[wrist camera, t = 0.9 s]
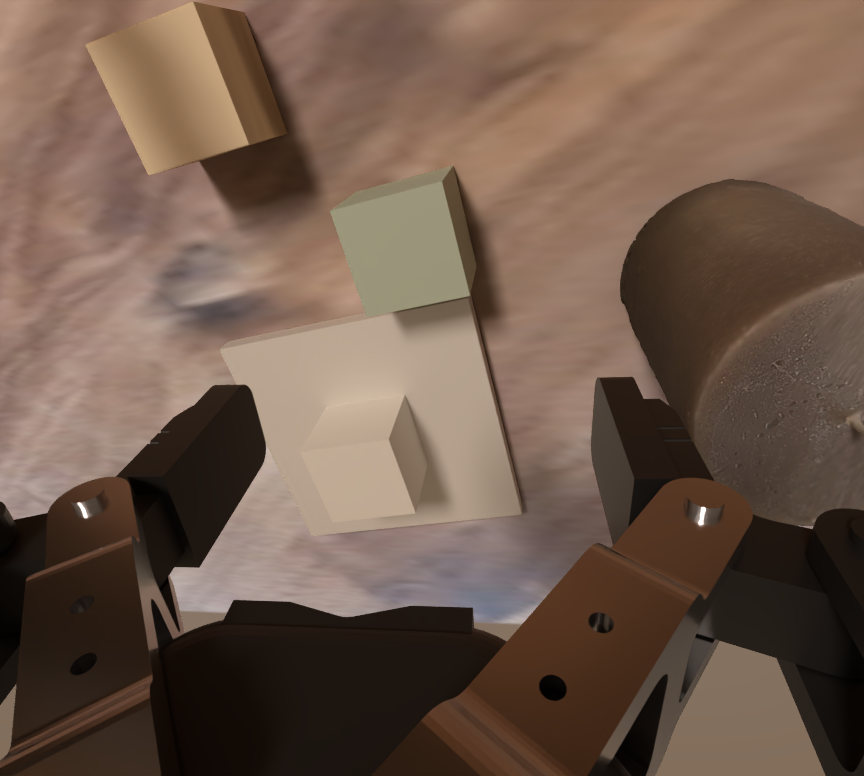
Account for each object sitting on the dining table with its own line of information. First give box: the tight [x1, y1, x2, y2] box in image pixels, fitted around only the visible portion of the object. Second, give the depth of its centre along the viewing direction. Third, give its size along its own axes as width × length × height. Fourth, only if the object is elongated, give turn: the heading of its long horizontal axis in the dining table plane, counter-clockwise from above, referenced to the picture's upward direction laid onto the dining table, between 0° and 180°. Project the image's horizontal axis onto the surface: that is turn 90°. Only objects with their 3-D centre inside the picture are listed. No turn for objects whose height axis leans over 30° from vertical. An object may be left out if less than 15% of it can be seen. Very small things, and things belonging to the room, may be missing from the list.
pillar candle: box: [620, 179, 864, 526], centre depth 22 cm, size 10×10×15 cm
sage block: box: [330, 166, 477, 317], centre depth 28 cm, size 5×5×5 cm
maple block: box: [85, 2, 287, 175], centre depth 26 cm, size 5×5×5 cm
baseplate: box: [219, 294, 522, 536], centre depth 36 cm, size 16×16×1 cm
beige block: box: [300, 395, 428, 522], centre depth 34 cm, size 5×5×5 cm
